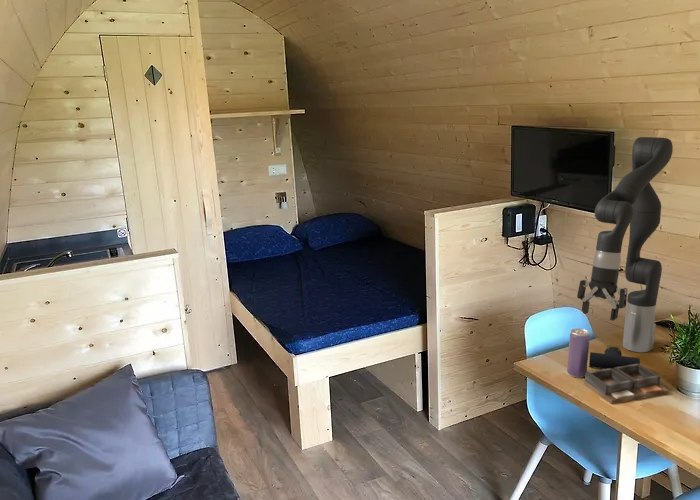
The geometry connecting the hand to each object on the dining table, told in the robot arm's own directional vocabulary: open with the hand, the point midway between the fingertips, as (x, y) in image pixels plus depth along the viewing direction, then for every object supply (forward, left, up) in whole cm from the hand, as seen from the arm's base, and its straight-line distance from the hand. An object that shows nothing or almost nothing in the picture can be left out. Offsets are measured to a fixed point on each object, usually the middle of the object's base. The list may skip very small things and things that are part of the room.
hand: (598, 316), depth 182 cm
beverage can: (+1, -6, -23) cm, 23 cm away
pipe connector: (-14, -9, -23) cm, 28 cm away
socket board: (-7, +7, -22) cm, 24 cm away
